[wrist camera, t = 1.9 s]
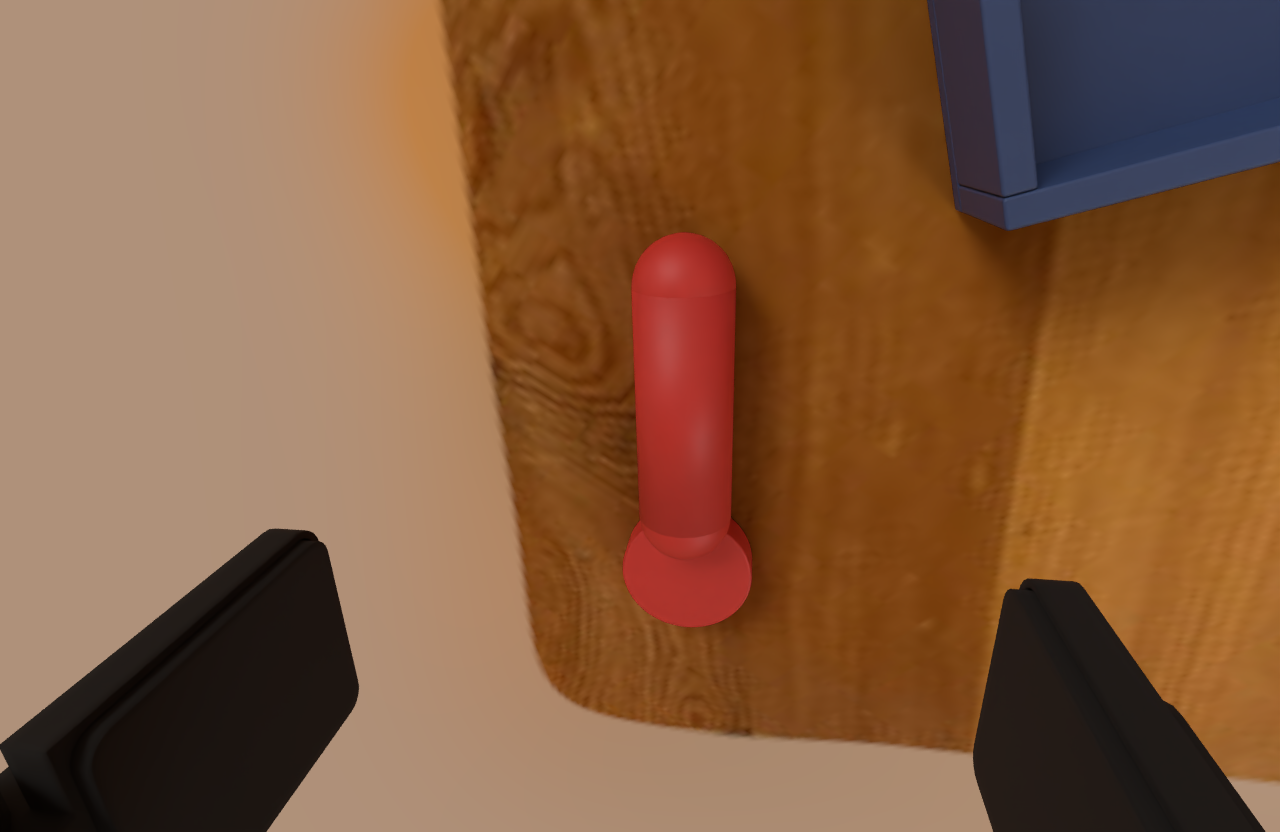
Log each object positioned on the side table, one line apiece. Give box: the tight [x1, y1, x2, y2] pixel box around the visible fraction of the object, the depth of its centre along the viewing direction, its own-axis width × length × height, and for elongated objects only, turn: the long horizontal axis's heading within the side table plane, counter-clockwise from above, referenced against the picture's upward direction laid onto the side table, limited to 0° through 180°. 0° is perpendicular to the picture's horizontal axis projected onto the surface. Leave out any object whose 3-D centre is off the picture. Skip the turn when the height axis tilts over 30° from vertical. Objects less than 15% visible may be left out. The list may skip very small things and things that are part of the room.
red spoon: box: [623, 232, 752, 627], centre depth 18 cm, size 11×4×2 cm, turn 2°
